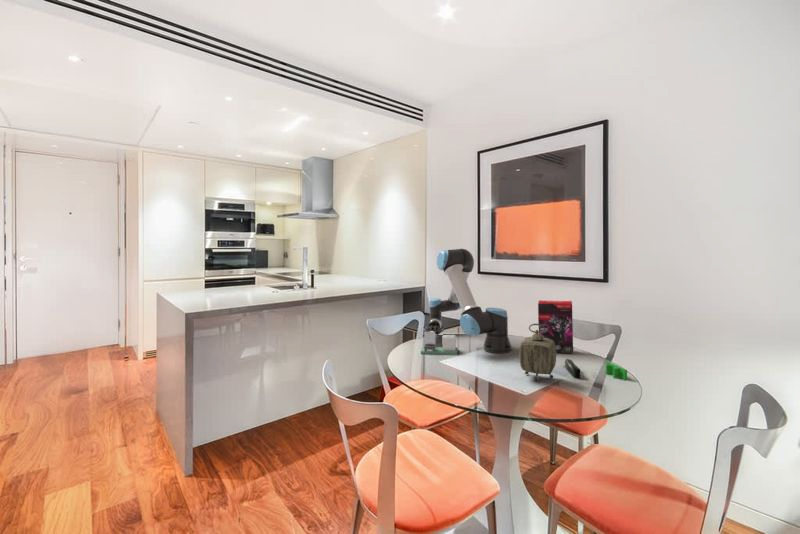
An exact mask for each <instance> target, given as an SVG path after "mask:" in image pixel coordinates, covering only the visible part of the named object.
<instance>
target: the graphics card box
mask: <svg viewBox="0 0 800 534" xmlns="http://www.w3.org/2000/svg"><path fill="white" fill-rule="evenodd" d="M537 304H538V305H537V314H538V315H537V317H538V320H537V322H538V324H541V325H543V326H544V327H545V332H543V333H538V334H541V335H542V336H543V338H547V339H551V340H553V341H554V343H555V346H556V354H557V353H559V354H574V329H573V325H574V324H573V301H572V300H538V302H537ZM542 331H544V328H543V327H542V326H539V325H538V332H542Z"/></svg>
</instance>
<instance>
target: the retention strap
mask: <svg viewBox="0 0 800 534" xmlns="http://www.w3.org/2000/svg"><path fill="white" fill-rule="evenodd" d="M423 332H424V331H423ZM423 335H424V338H423V339H424V346H435V348H436V347H437V346H436V345H437V342H436V334H435V332H424V333H423ZM427 351H433V349H427Z"/></svg>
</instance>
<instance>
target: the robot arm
mask: <svg viewBox="0 0 800 534" xmlns="http://www.w3.org/2000/svg"><path fill="white" fill-rule="evenodd" d="M474 265H475V260H474V257H473V254H472V253H471V251H469V250H468V249H465V248H455V249H443V250H440V251H439V252H438V254H437V257H436V266H437V269H438V270H440V271H443V272H444V276H448V279H449V281H450V283H451V289H450V293H449V296H448V298H447V300H446V299H444V300H442V299H441V298H439V297H437V298H436V297H435V298H430V299H429V323H428V325H427V326H422V329H423V332H435V336H439V335H440V334H441V333H442V332H445V331H444V330H445V328H444V326H442V324H443V319H442V313H445V312H453V311H454V312H455V311H458V310H461V314H460V318H459V325H460V329H461V330H462V332H463V333H464V334H465V335H467V336H479V335H483V334H484V335H485V334H486V336H485V339H484V342H483V351H486V352H488V353H491V354H505V353H506V354H507V353H509V352H511V351H512V344H511V341H510V338H509V329H508V327H509V326H508V321H509V320H508V318H509V317H508V310H506V309H504V308H498V307H486V308H485V311H483V310H482V307H481V306H479V305H477V303H476V301H475V298H474V295H473V294H472V291H471V288H470V286H469V283H468V281H467V280H468V278H469V276H470V273H472V272H473V270H474Z"/></svg>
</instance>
